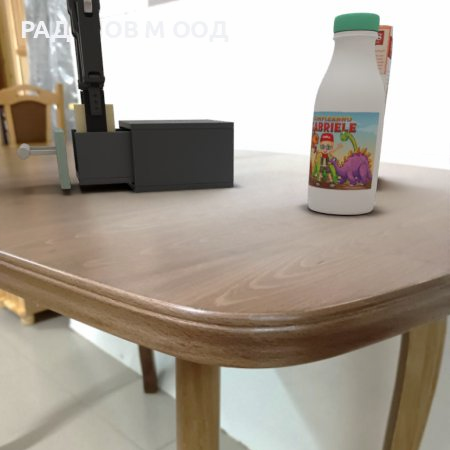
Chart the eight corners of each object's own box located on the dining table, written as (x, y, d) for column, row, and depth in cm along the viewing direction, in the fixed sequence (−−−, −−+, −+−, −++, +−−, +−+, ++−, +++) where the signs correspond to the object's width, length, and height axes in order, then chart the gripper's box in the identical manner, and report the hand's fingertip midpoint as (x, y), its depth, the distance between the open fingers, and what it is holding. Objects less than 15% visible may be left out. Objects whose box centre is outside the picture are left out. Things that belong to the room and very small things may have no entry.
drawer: (22, 191, 64) (12, 132, 61) (25, 179, 74) (17, 128, 71) (160, 184, 69) (158, 130, 67) (146, 173, 79) (143, 126, 77)
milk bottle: (320, 201, 62) (333, 23, 55) (381, 207, 59) (404, 17, 51) (296, 211, 56) (307, 13, 49) (362, 219, 53) (385, 5, 45)
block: (79, 143, 67) (75, 104, 65) (77, 141, 71) (73, 104, 69) (116, 142, 68) (113, 104, 67) (112, 140, 73) (109, 104, 71)
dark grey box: (135, 192, 68) (130, 123, 65) (122, 180, 79) (118, 120, 76) (233, 187, 72) (234, 122, 69) (208, 175, 84) (208, 119, 80)
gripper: (116, -75, 54) (132, 143, 63) (100, -35, 70) (114, 135, 79) (45, -83, 52) (72, 145, 61) (45, -40, 68) (66, 136, 77)
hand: (96, 139), depth 70 cm, fingers closed on block, 5 cm apart
